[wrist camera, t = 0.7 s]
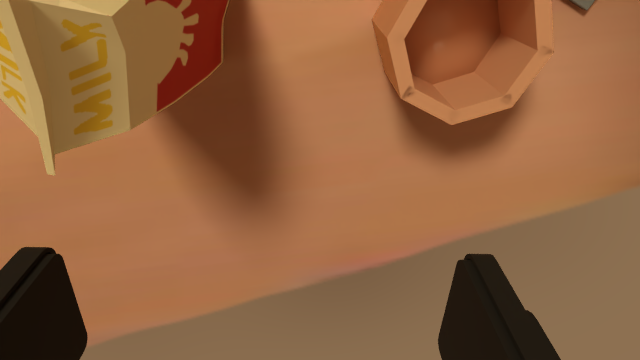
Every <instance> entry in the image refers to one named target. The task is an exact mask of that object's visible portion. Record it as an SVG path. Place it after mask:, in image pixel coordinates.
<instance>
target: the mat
mask: <svg viewBox="0 0 640 360" xmlns="http://www.w3.org/2000/svg"><path fill="white" fill-rule="evenodd" d="M570 1H571V2H573V3H574V4H576V5H577V6H579V7H580V8H582V9H584V10H588V9H589V7H590V6H591V5H592V4H593V2H594V1H595V0H570Z"/></svg>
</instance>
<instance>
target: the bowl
mask: <svg viewBox="0 0 640 360" xmlns="http://www.w3.org/2000/svg"><path fill="white" fill-rule="evenodd" d="M372 22H373V26H374V30H375V34H376V38H377V42H378V47H379V51H380V55H381V59H382V63H383V67H384V72H385V73H386V75H387V77H388V78H389V80H390V82H391V83H392V85H393V87H394V88H395V90H396V92H397V93H398V95H399V97H400V98H401V99H402V100H404V101H406V102H408V103H410V104H412V105H414V106H416V107H418V108H420V109H422V110H423V111H425V112H427V113H429V114H431V115H433V116H435V117H437V118H439V119H441V120H443V121H445V122H446V123H448V124H450V125H454V124H457V123H461V122H464V121H468V120H471V119H474V118H478V117H481V116H485V115H488V114H491V113H495V112H498V111H502V110H505V109H508V108H512V107H513V105H514V104H515V103H516V102H517V100H518V99H519V98H520V96H521V95H522V94H523V92H524V91H525V90H526V88H527V87H528V86H529V84H530V83H531V82H532V80H533V79H534V78H535V77H536V75H537V74H538V73H539V71H540V70H541V69H542V67H543V66H544V65H545V63H546V62H547V61H548V59H549V58H550V57H551V55H552V54H553V53H554V41H553V21H552V0H382V2H381V4H380V6H379V8H378V10H377V11H376V13H375V15H374V17H373V19H372Z"/></svg>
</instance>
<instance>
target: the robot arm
mask: <svg viewBox="0 0 640 360" xmlns="http://www.w3.org/2000/svg"><path fill="white" fill-rule="evenodd" d="M86 344H87V332H86V329H85V325H84V322H83V319H82V316H81V313H80V310H79V307H78V304H77V301H76V297H75V294H74V291H73V288H72V285H71V282H70V279H69V276H68V273H67V269H66V266H65V263H64V260H63V258H62V256H61V255H60V254H56V252H55V250H53V249H52V248H49V247H24V248H21V249H20V250H19V251H18V252H17V253H16V254H15V255H14V256H13V257H12V258H11V259H10V260H9V261H8V263H7V264H6V265H5V266H4V267H3V268H2V269H1V270H0V360H79V359H80V357H81V356H82V354H83V352H84V350H85V348H86ZM438 344H439V351H440V354H441V358H442V360H561V359H560V358H559V356H558V354H557V353H556V351H555V349H554V347H553V346H552V344H551V343H550V341H549V339H548V338H547V336H546V334H545V332H544V331H543V329H542V327H541V326H540V324H539V322H538V321H537V319H536V318H535V316H534V315H533V314H532V313H531V312H529V311H528V310H525V309H524V307H523V305H522V304H521V302H520V300H519V299H518V297H517V295H516V293H515V291H514V290H513V288H512V286H511V285H510V283H509V281H508V279H507V278H506V276H505V275H504V273H503V271H502V269H501V268H500V266H499V264H498V262H497V261H496V259H495V258H494V256H493V255H491V254H467V255H466V256H465V258H464V260H459V261H458V262H457V265H456V269H455V273H454V277H453V281H452V285H451V289H450V293H449V297H448V301H447V305H446V309H445V313H444V317H443V321H442V325H441V329H440V333H439V338H438Z"/></svg>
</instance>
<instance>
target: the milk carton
mask: <svg viewBox="0 0 640 360" xmlns="http://www.w3.org/2000/svg"><path fill="white" fill-rule="evenodd" d="M229 1H230V0H0V99H1V100H2V101H3V102H4V103H5V104H6V105H7V106H8V107H9V108H10V109H11V110H12V111H13V112H14V113H15V114H16V115H17V116H18V117H19V118H20V119H21V120H22V121H23V122H24V123H25V124H26V125H27V126H28V127H29V128H30V129H31V130H32V131H33V132H34V133H35V134H36V135H37V136H38V138H39V142H40V146H41V150H42V154H43V159H44V163H45V167H46V171H47V174H50V175H54V176H55V156H54V155H55V154H58V153H61V152H64V151H67V150H70V149H73V148H76V147H79V146H83V145H86V144H89V143H92V142H95V141H98V140H101V139H104V138H107V137H111V136H114V135H117V134H120V133H123V132H126V131H129V130H131V129H133V128H135V127H136V126H138V125H140V124H141V123H143V122H144V121H146V120H148V119H149V118H151V117H153V116H154V115H156V114H157V113H159V112H161V111H162V110H164V109H166V108H167V107H169V106H170V105H172V104H174V103H175V102H177V101H178V100H179V99H180V98H182V97H183V96H184V95H186V94H187V93H188V92H190V91H191V90H192V89H194V88H195V87H196V86H198V85H199V84H200V83H201V82H203V81H204V80H205V79H207V78H208V77H209V76H210V75H211V74H212V73H213V72H214V71H215V70H216V69H217V68H218V67H219V66H220V65H221V64H222V63H223V35H224V18H225V14H226V11H227V8H228V4H229Z"/></svg>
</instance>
